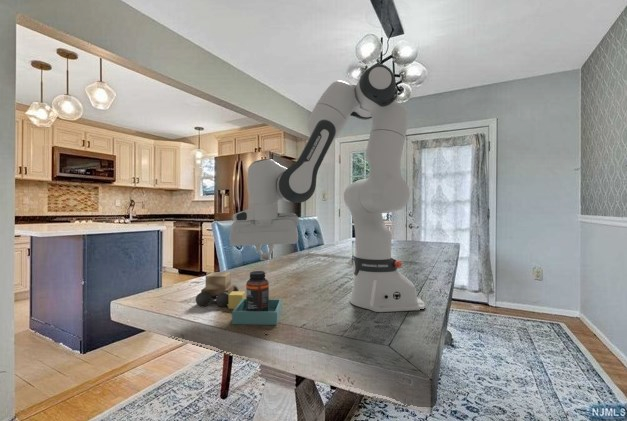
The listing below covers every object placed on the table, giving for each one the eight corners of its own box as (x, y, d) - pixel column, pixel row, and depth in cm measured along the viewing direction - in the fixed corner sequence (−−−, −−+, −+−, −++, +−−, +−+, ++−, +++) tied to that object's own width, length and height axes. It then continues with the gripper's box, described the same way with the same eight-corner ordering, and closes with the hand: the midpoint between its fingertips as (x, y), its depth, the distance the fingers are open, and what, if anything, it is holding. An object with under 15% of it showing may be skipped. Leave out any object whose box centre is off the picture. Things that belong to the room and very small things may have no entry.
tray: (281, 310, 87) (282, 299, 87) (276, 324, 76) (277, 312, 76) (242, 309, 87) (243, 298, 87) (232, 324, 76) (232, 311, 76)
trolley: (238, 296, 99) (238, 271, 99) (229, 306, 89) (229, 278, 89) (208, 296, 100) (208, 270, 100) (195, 306, 89) (195, 277, 89)
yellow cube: (245, 304, 92) (245, 291, 92) (242, 309, 88) (242, 295, 88) (232, 304, 92) (232, 291, 92) (228, 308, 88) (228, 295, 88)
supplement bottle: (271, 311, 84) (271, 270, 84) (265, 318, 78) (265, 274, 78) (249, 310, 85) (250, 269, 85) (242, 317, 79) (243, 274, 79)
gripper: (298, 212, 94) (300, 256, 95) (232, 214, 94) (234, 259, 95) (297, 212, 88) (299, 260, 88) (227, 215, 88) (229, 263, 88)
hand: (265, 259), depth 92 cm, fingers closed
